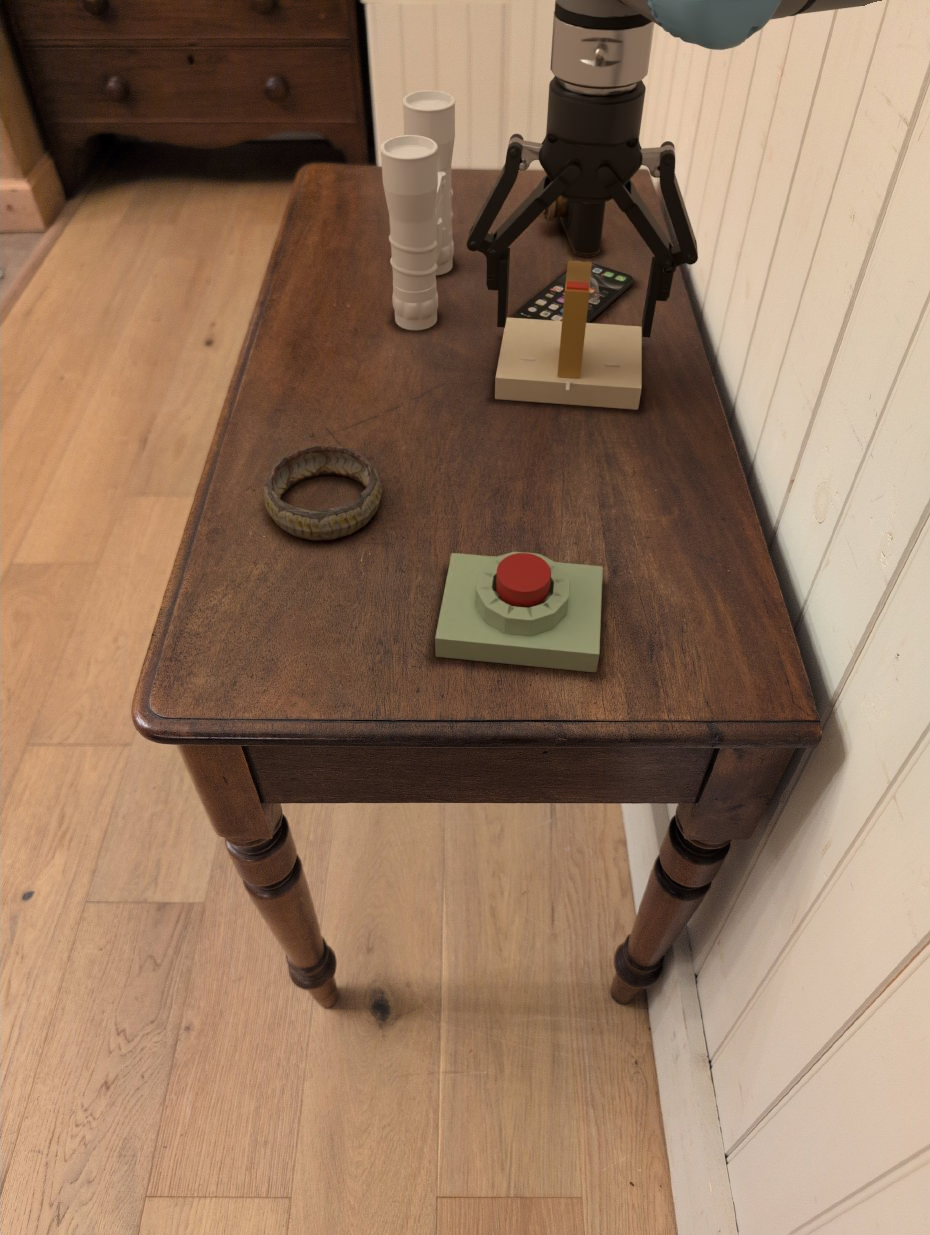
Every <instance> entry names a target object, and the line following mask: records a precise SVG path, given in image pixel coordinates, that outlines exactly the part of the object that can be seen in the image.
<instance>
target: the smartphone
mask: <svg viewBox="0 0 930 1235" xmlns="http://www.w3.org/2000/svg"><path fill="white" fill-rule="evenodd" d="M583 261H584V262H589V261H587V260H583ZM566 275H567V270H565V271H564V272H562V273H561V274H560V275H559V276H557V277H556V278H555V279H554V280H553V281H551V282H550V283H548V285H546V286H545V287H544V288H543V289H541V290H540V291H539V292H538V293H537V294H535V295H534V296H533V297H532V298H530V299H529V300H528V301H526V302H525V303H524V304H523V305H521V307H519V308H518V309H517V310H515V313H514V318H522V319H537V320H552V321H562V317H563V305H564V294H565V284H566ZM633 284H634V276H632V275H630V274H629V273H625V272H622V271H619V270H615V269H612V268H610V267H607V266H604V265H601V264H597V263H595V262H592V266H591V279H590V293H589V302H588V311H587V320H586V323H591V322H592V321H593V320H594V319H595V318H597V316H599V315H600V314H601V313H602V312H603V311H604V310H605V309H606V308H608V307H609V306H610V305H611V304H613V302H614V301H616V299H617V298H619V297H620V296H621V295H622V294H624V293H625V292H626V291H627V290H628V289H629V288H630V287H631V286H632V285H633Z"/></svg>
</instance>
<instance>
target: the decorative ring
mask: <svg viewBox="0 0 930 1235" xmlns="http://www.w3.org/2000/svg"><path fill="white" fill-rule="evenodd" d="M319 476H339V477H345V478H349V479H352V480H354V481H355V482H358V483H359V484H362V485H363V487H365V489H364V490H363V491H362V492H361V493H360V494H359V496H357V497H355V498H354V499H352V500H351V501H349V502H347V503H345V504H342V505H339V506H336V507H332V508H328V509H306V508H300V507H295V506H292V505H291V504H288V503H287V502H286V501H283V500H281V498H282V496H283V495H284V494H285V493H286V492H288V490H289V489H290V488H292V487H293V486H295V485H297V484H298V483H300V482H302V481H304V480H308V479H311V478H315V477H319ZM382 494H383V486H382V482H381V478H380V476H379V472H378V470H377V469H376V467H375V466H374V465H373V464H372V463H371V462H370V461H369V460H368V459H367V458H366V457H365V455H363V454H361V453H360V452H357V451H356V450H353V449H351V448H349V447H345V446H339V445H334V444H331V445H330V444H328V445H327V444H326V445H313V446H309V447H304V448H301V449H297V450H295V451H293V452H291V453H289V454H287V455H286V456H284V457H282V458H281V459H280V460H279V461H278V462H276V463H275V465H274V466H273V467H271V469H270V471H269V474H268V476H267V478H266V481H265V483H264V486H263V500H264V507H265V509H266V511H267V513H268V515H269V516H270V517H271V519H272V520H273V521H274V523H275V524H276V525H277V526H278V527H279V528H280V529H281V530H283V531H284V532H287V533H288V534H290V535H292V536H294V537H295V538H299V539H304V540H308V541H333V540H336V539H340V538H342V537H347V536H350V535H352V534H353V533H355V532H357V531H359V530H360V529H362V528H364V527H365V526H366V525H367V524H368V523H369V522H370V520H371V519H372V518H373V517H374V515H375V514H376V513H377V511H378V510H379V506H380V503H381V499H382Z"/></svg>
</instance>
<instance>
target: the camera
mask: <svg viewBox="0 0 930 1235" xmlns="http://www.w3.org/2000/svg"><path fill="white" fill-rule="evenodd" d="M605 210H606V202H604V205H603V204H594V203H591V202H588V201H584V202H579V203H568V200H566V199H564V198H563V197H561V196H559V197H558V198H557V199H556V201H555V202H554V203H553V204H552V205H551V206H550V207H548V208H546V209H545V210H544V211H543V212H542V214H543V218H544V220H545V221H546V222H551V221H553V220H554V219H555V218H559V220H560V222H561V224H562V227H563V230H564V232H565V234H566V237H567V239H568V242H569V245H570V248H571V250H572V252H573V253H574V255H576V256H578V257H585V258H590V257H595V256H597V255H599V254H600V253H601V249H602V248H601V247H602V246H601V244H602V238H603V237H602V236H603V228H604V220H605V219H604V218H605Z"/></svg>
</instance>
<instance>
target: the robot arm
mask: <svg viewBox="0 0 930 1235" xmlns="http://www.w3.org/2000/svg"><path fill="white" fill-rule="evenodd" d="M877 1H882V0H555V1H554V11H553V18H552V19H553V21H552V33H551V36H552V37H551V51H550V52H551V54H550V71H551V73H552V75H553V77H552V79H551V80H550V82H549V84H548V99H547V115H546V128H545V129H546V130H545V131H546V132H545V135H544V138H543V140H542V142H535V141H530V140H524V136H522V134H520V133H514V134H512V135H510V138H509V139H508V140H509V141H508V145H507V149H506V155H505V161H504V162H505V163H504V164H503V166H502V169H501V170H500V172H499V173H498V176H497V178H496V180H495V182H494V184H493V185H492V188H491V189H490V191H489V193H488V194H487V196H486V199H485V200H484V202H483V205H482V206H481V208H480V210H479V212H478V214H477V216H476V217H475V220H474V221H473V224H472V225H471V227H470V230H469V232H468V236H467V241H466V248H467V250H469V251H470V252H479V253H481V254H483V255H484V256H485V259H486V280H485V281H486V287H487V290H488V291H497V313H496V314H497V316H496V317H497V318H496V328H503V329H504V328H505V325H506V319H507V318H508V314H509V313H508V312H509V293H510V292H509V290H510V289H509V288H510V265H511V247H510V246H511V245H512V244H514V242H515V241H516V240H517V239H518V238H519V237H520V236H521V235H522V234H523V233H524V232H525V231H526V229H528V227H530V225H531V224H533V222H535V220H536V219H537V218H538V217H539V216H541V214H543V211H544V210H545V209H546V208H548V207H550V206H551V205H552V204H553V203H554V202H555V201H556V199H557V198H558V197H559V196H561V197H563V198H564V199H566V200H568V203H579V202H584V201H588V202H591V203H594V204H603V205H604V202H605V203H607V202H609V201H611V200H613V201H614V202H615V204H616V205H617V206H618V208H619V210H620V211H621V212H622V213H624V214H625V215H626V217H627V218H628V220H629V221H630V223H631V224H632V226H633V227H634V229H635V230H636V231H637V233H638V234H639V236H640V237H641V239H642V240H643V242H644V243H645V244H646V247H647V248H648V249H649V251H650V252H651V253H652V255H653V256H652V257H651V263H650V270H649V275H648V281H647V287H646V294H645V300H644V301H645V302H644V306H643V312H642V319H641V327H642V338H649V339H650V338H651V334H652V330H653V329H652V328H653V322H654V316H655V311H656V306H657V302H667V301H668V299H669V298H670V295H671V290H672V285H673V279H674V274H675V272H676V270H677V268H678V267H679V266H681V265H684V264H687V265H689V266H690V265H694V264H696V263H697V262H698V260H699V251H698V242H697V238H696V236H695V232H694V229H693V226H692V222H691V220H690V216H689V213H688V210H687V206H686V204H685V200H684V197H683V194H682V191H681V188H680V185H679V181H678V178H677V175H676V147H675V144H674V143H673V142H672V141H670V140H666V141H663V143H661V145H660V146H659V147H642V146H641V143H640V134H641V128H642V127H641V126H642V120H643V113H644V106H645V105H644V104H645V97H646V89H647V88H646V85H645V83H644V81H643V80H644V79H645V78H646V76H648V73H649V68H650V61H651V53H652V44H653V38H654V30H655V24H656V25H657V26H659V27H661V29H663V31H664V32H666V33H669V35H670V36H671V37H673V38H678V39H680V40H681V41H683V42H684V43H689V44H692V45H697V46H700V47H702V48H704V49H708V50H714V51H724V50H729V49H733V48H736V47H738V46H741V45H742V44H743V43H745V42H746V40H748V39H750V38H751V37H752V36H753V35H754V34H755V33H757V32H759V31H761V30H762V29H763V28H764V27H766V25H767V24H768V23H770V21H771V20H778V19H784V18H787V17H795V16H797V15H802V14H811V13H819V12H827V11H835V10H843V9H849V8H857V7H860V6H865V5H867V4H870V3H873V2H877ZM534 161H538V162H539V164H540V166H541V168H542V169H543V171H544V173H545V174H546V175H545V176H544V177H543V178H542V179H541V180H540V182H539V183H538V185H537V186H536V187H535V188H534V189H533V191H532V192H531V193H530V194H528V195H527V197H526V198H525V199H524V200H523V201H522V202H521V203H520V204H519V205H518V207H516V209H515V210H514V211H513V212H512V213H511V214H510V215H509V216H508V217H507V218H506V220H504V221H503V223H501V225H500V226H499V227H498V228H496V230H495V231H494V232H491V233H489V231H490V229H491V228H492V226H493V224H494V221H495V220H496V219H497V217H498V215H499V213H500V211H501V209H502V207H503V205H504V203H505V202H506V200H507V198H508V196H509V194H510V192H511V191H512V189H513V187H514V185H515V183H516V181H517V179H518V176H519V172H520V171H521V172H523V171H526V170H528V169H529V168H530V166H531V164H532V163H533V162H534ZM642 166H645V167H646V168H648V169H647V170H649V174H650V176H651V177H652V178H654V179H658V178H659V187H660V192H661V195H662V198H663V201H664V204H665V207H666V210H667V213H668V217H669V219H670V222H671V226H672V228H673V232H674V234H675V237H676V240H677V244H673V243H672V241H671V240H670V239H669V237H668V235H667V234H666V233H665V231H664V229H663V228H662V226H661V225H660V224H659V222H658V221H657V219H656V217H655V216H654V215H653V213H652V212H651V210H650V209H649V207H648V206H647V204H646V203H645V201H644V200H643V198H642V197H641V195H640V194H639V192H638V191H637V188H636V185H635V184H634V182H633V181H632V178H634V176H635V175H636V173H637V172H638V171H639V170H640V169H641V167H642Z"/></svg>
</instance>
